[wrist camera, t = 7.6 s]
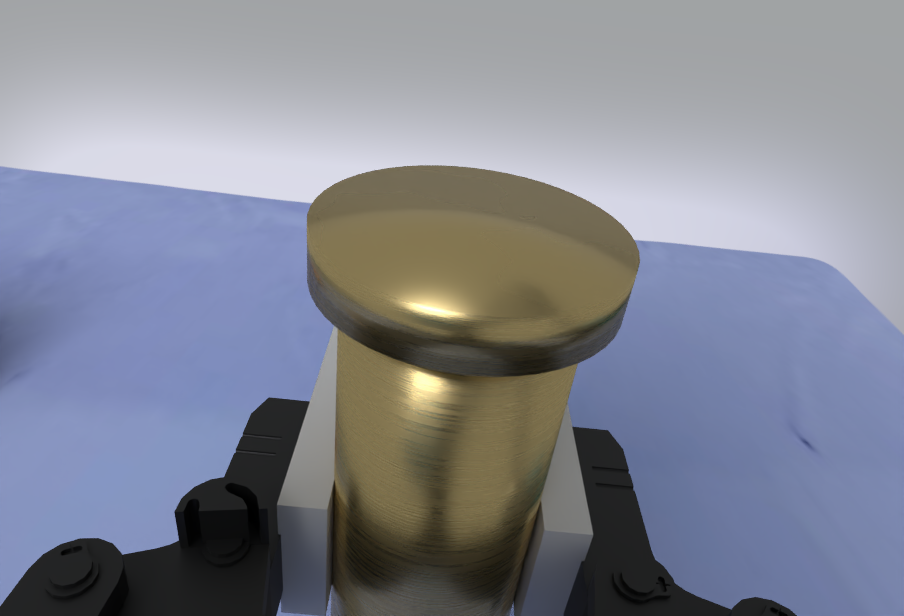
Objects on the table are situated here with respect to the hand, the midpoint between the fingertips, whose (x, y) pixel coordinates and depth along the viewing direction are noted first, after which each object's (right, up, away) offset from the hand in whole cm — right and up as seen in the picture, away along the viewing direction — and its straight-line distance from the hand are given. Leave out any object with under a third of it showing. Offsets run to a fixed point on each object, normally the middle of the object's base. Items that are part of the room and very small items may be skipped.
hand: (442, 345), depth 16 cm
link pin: (-1, -9, -1) cm, 9 cm away
